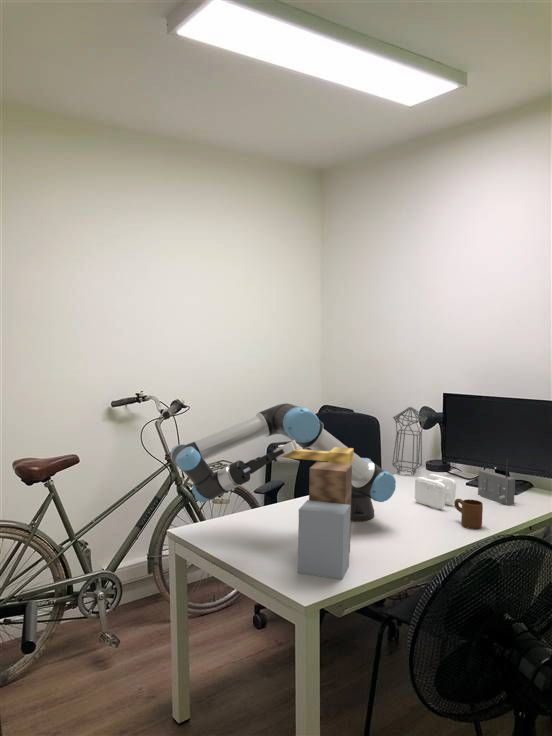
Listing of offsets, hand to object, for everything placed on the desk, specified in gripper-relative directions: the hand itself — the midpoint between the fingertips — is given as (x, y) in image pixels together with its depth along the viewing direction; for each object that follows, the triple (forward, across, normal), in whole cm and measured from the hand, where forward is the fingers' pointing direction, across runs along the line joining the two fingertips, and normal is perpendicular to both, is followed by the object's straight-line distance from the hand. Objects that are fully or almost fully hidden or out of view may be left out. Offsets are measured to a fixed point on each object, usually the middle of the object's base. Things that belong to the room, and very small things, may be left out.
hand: (294, 445), depth 184 cm
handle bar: (+3, 0, -6) cm, 7 cm away
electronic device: (+36, -97, -65) cm, 122 cm away
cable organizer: (+15, -80, -53) cm, 97 cm away
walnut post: (-11, -10, -38) cm, 41 cm away
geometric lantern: (+1, -131, -45) cm, 138 cm away
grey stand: (-10, +2, -39) cm, 40 cm away
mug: (+27, -59, -60) cm, 88 cm away
